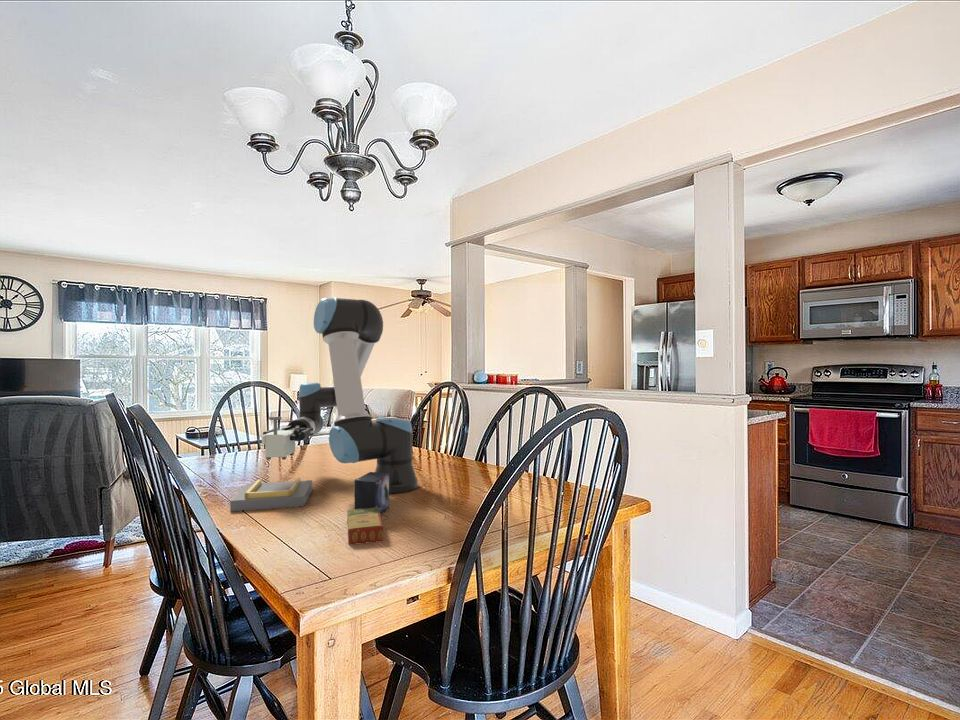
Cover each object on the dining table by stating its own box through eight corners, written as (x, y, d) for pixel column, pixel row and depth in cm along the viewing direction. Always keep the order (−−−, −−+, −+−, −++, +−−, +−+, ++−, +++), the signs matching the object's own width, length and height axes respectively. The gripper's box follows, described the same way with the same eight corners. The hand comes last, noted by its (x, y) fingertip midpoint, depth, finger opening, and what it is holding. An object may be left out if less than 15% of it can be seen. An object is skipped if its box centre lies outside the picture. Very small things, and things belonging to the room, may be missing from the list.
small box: (376, 520, 138) (375, 481, 138) (353, 518, 140) (352, 480, 139) (390, 508, 149) (390, 472, 148) (369, 507, 150) (369, 471, 150)
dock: (312, 489, 171) (312, 475, 171) (304, 506, 151) (303, 491, 151) (247, 493, 167) (247, 479, 167) (230, 511, 147) (230, 495, 147)
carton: (347, 546, 120) (347, 528, 120) (346, 524, 136) (346, 508, 136) (383, 542, 122) (383, 524, 122) (379, 521, 138) (378, 505, 138)
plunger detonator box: (295, 454, 170) (294, 413, 169) (284, 460, 161) (283, 416, 160) (277, 454, 170) (276, 413, 170) (265, 460, 161) (264, 417, 161)
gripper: (327, 439, 183) (304, 451, 160) (274, 439, 183) (243, 452, 160) (327, 418, 183) (304, 427, 160) (273, 418, 183) (242, 427, 160)
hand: (273, 439), depth 160 cm, fingers closed on plunger detonator box, 6 cm apart
